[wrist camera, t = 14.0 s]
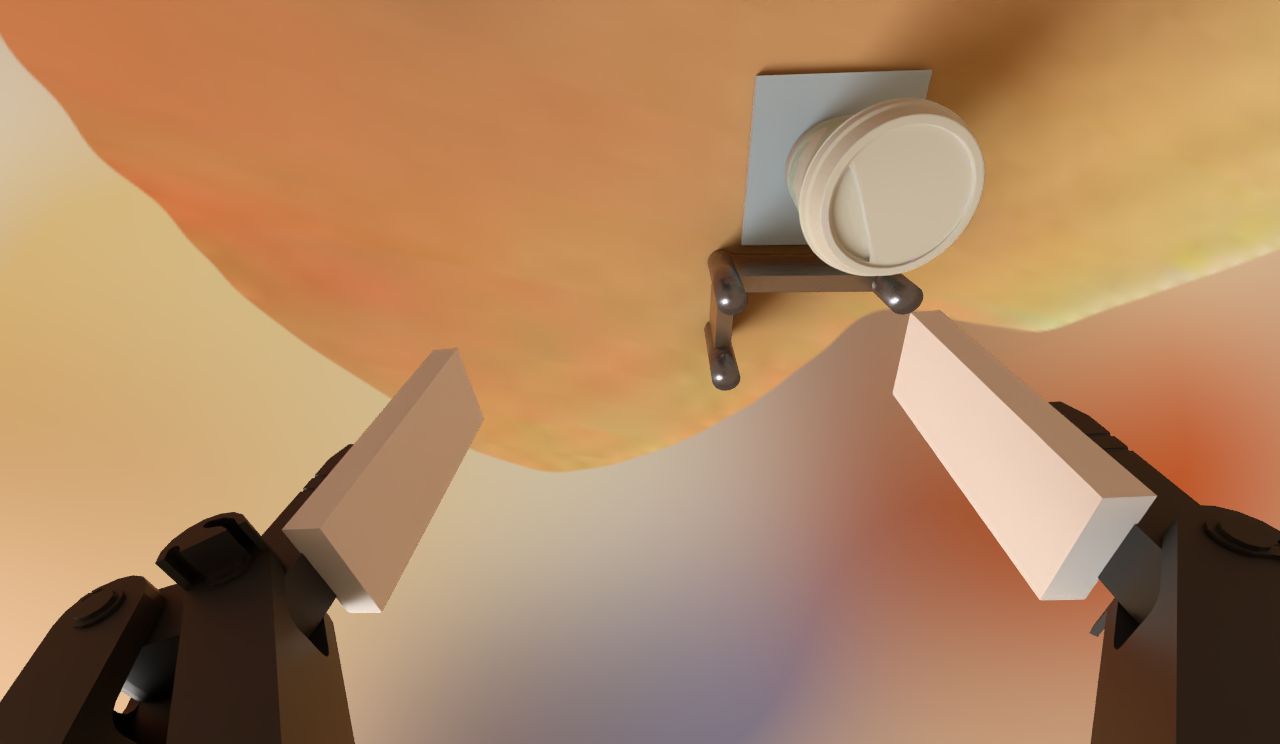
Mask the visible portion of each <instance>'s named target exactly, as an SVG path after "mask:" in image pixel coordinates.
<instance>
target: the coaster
mask: <svg viewBox="0 0 1280 744" xmlns="http://www.w3.org/2000/svg"><path fill="white" fill-rule="evenodd" d="M932 72H933V70H906V71H877V72H849V73H820V74H792V75H763V76H755V85H754V96H753V108H752V119H751V131H750V143H749V154H748V166H747V178H746V189H745V201H744V213H743V224H742V236H741V244H742V245H805V244H808V243H807V241H806V239H805V237H804V235H803V232H802V229H801V225H800V219H799V212H798V210H797V207H796V205H795V203H794V201H793V199H792V197H791V195H790V193H789V190H788V188H787V185H786V181H785V165H786V160H787V157H788V154H789V152H790V150H791V148H792V146H793V145H794V143H795V142H796V140H797V139H798V138H799V137H800V136H801V135H802V134H803V133H804V132H805V131H806V130H807V129H809V128H810V127H812V126H813V125H815V124H817V123H820V122H822V121H826V120H830V119H834V118H838V117H842V116H847V115H851V114H856V113H858V112H860V111H862V110H864V109H866V108H868V107H870V106H872V105H875V104H877V103H880V102H883V101H887V100H891V99H897V98H922V99H926V95H927V91H928V87H929V83H930V79H931V76H932Z"/></svg>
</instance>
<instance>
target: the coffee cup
mask: <svg viewBox="0 0 1280 744" xmlns="http://www.w3.org/2000/svg"><path fill="white" fill-rule="evenodd" d="M984 179H985V166H984V159H983V155H982V152H981V148H980V146H979V144H978V142H977V140H976V139H975V137H974V135H973V133H972V131H971V129H970V128H969V126H968V125H967V124H966V122H965V121H964V120H963V119H962V118H961V117H960V116H959V115H957V114H956V113H955V112H953V111H952V110H950V109H948V108H946V107H945V106H943V105H941V104H939V103H937V102H934V101H931V100H927V99H922V98H897V99H891V100H887V101H883V102H880V103H877V104H875V105H872V106H870V107H868V108H866V109H864V110H862V111H860V112H858V113H856V114H851V115H847V116H842V117H838V118H834V119H830V120H826V121H822V122H820V123H817V124H815V125H813V126H812V127H810V128H809V129H807V130H806V131H805V132H804V133H803V134H802V135H801V136H800V137H799V138H798V139H797V140H796V142H795V143H794V145H793V146H792V148H791V150H790V152H789V154H788V157H787V160H786V165H785V181H786V185H787V188H788V190H789V193H790V195H791V197H792V199H793V201H794V203H795V205H796V207H797V210H798V212H799V219H800V225H801V229H802V232H803V235H804V237H805V239H806V241H807V243H808V245H809V246H810V248H811V249H812V251H813V252H814V253H815V254H816V255H817V256H818V257H819V258H820V259H821V260H822V261H824V262H825V263H827V264H828V265H830V266H832V267H834V268H836V269H838V270H841V271H843V272H846V273H849V274H853V275H860V276H887V275H894V274H900V273H903V272H907V271H910V270H913V269H915V268H917V267H920V266H922V265H924V264H925V263H927V262H929V261H931V260H932V259H934V258H935V257H937V256H938V255H940V254H941V253H942V252H943V251H945V250H946V249H947V248H948V247H949V246H950V245H951V244H952V243H953V242H954V241H955V240H956V239H957V238H958V237H959V236H960V235H961V233H962V232H963V231H964V229H965V228H966V227H967V225H968V224H969V222H970V220H971V219H972V217H973V215H974V213H975V211H976V209H977V207H978V204H979V202H980V199H981V195H982V192H983V187H984Z"/></svg>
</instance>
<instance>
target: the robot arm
mask: <svg viewBox="0 0 1280 744" xmlns="http://www.w3.org/2000/svg"><path fill="white" fill-rule="evenodd" d="M893 395H894V396H895V398H896V399H897V401H898V402H899V403H900V405H901V406H902V407H903V409H904V410H905V412H906V413H907V415H908V416H909V417H910V419H911V420H912V422H913V423H914V424H915V426H916V427H917V429H918V430H919V431H920V433H921V434H922V436H923V437H924V438H925V440H926V441H927V443H928V444H929V445H930V447H931V448H932V450H933V451H934V452H935V454H936V455H937V457H938V458H939V459H940V461H941V462H942V464H943V465H944V466H945V468H946V469H947V470H948V472H949V473H950V475H951V476H952V477H953V479H954V480H955V482H956V483H957V485H958V486H959V487H960V489H961V490H962V492H963V493H964V494H965V496H966V497H967V498H968V500H969V501H970V503H971V504H972V506H973V507H974V508H975V510H976V511H977V512H978V514H979V515H980V517H981V518H982V520H983V521H984V522H985V524H986V525H987V527H988V528H989V529H990V531H991V532H992V534H993V535H994V536H995V538H996V539H997V541H998V542H999V543H1000V545H1001V546H1002V548H1003V549H1004V550H1005V552H1006V553H1007V555H1008V556H1009V557H1010V559H1011V560H1012V562H1013V563H1014V564H1015V566H1016V567H1017V568H1018V570H1019V571H1020V573H1021V574H1022V576H1023V577H1024V579H1025V580H1026V581H1027V583H1028V584H1029V586H1030V587H1031V588H1032V590H1033V591H1034V593H1035V594H1036V595H1037V597H1038V598H1039V599H1040V600H1077V599H1085V598H1086V597H1087V595H1088V594H1089V593H1090V591H1091V590H1092V588H1093V587H1094V585H1095V584H1096V583H1097V581H1098V580H1101V582H1102V583H1103V584H1104V585H1105V587H1106V588H1107V589H1108V590H1109V591H1110V592H1111V593H1112V595H1113V596H1114V597H1115V598H1114V599H1113V601H1112V602H1111V603H1110V605H1109V606H1108V607H1107V609H1106V610H1105V611H1104V613H1103V614H1102V615H1101V616H1100V618H1099V619H1098V620H1097V622H1096V623H1095V624H1094V626H1093V628H1092V630H1091V631H1090V633H1091V634H1093V635H1095V636H1099V634H1100V633H1101V632H1102V631H1103V629H1105V632H1104V639H1103V648H1102V656H1101V664H1100V672H1099V680H1098V689H1097V697H1096V706H1095V713H1094V721H1093V729H1092V738H1091V744H1280V531H1279V530H1277V529H1275V528H1273V527H1272V526H1270V525H1268V524H1266V523H1264V522H1263V521H1260V520H1258V519H1255V518H1253V517H1250V516H1248V515H1245V514H1243V513H1240V512H1237V511H1233V510H1229V509H1225V508H1221V507H1216V506H1203V505H1202V506H1201V505H1200V504H1198V503H1197V502H1196V501H1195V500H1193V499H1192V498H1191V497H1189V496H1188V495H1187V494H1186V493H1184V492H1183V491H1182V490H1181V489H1180V488H1178V487H1177V486H1176V485H1175V484H1173V483H1172V482H1171V481H1170V480H1168V479H1167V478H1166V477H1165V476H1163V475H1162V474H1161V473H1160V472H1158V471H1157V470H1156V469H1155V468H1153V467H1152V466H1151V465H1150V464H1148V463H1147V462H1146V461H1145V460H1143V459H1142V458H1141V457H1140V456H1139V455H1137V454H1136V453H1135V452H1133V451H1129V450H1128V447H1127V446H1126V445H1125V444H1124V443H1122V442H1121V441H1120V440H1119V439H1117V438H1116V437H1114V436H1110V433H1109V431H1107V430H1106V429H1105V428H1104V427H1102V426H1101V425H1100V424H1098V423H1097V422H1096V421H1095V420H1094V419H1092V418H1091V417H1090V416H1088V415H1087V414H1084V413H1082V412H1080V411H1078V410H1076V409H1074V408H1072V407H1070V406H1068V405H1066V404H1064V403H1062V402H1047V401H1046V400H1044V399H1043V398H1042V397H1041V396H1040V395H1039V394H1037V393H1036V392H1035V391H1034V390H1033V389H1032V388H1030V387H1029V386H1028V385H1027V384H1026V383H1025V382H1023V381H1022V380H1021V379H1020V378H1019V377H1017V376H1016V375H1015V374H1014V373H1013V372H1012V371H1011V370H1009V369H1008V368H1007V367H1006V366H1005V365H1003V364H1002V363H1001V362H1000V361H999V360H997V359H996V358H995V357H994V356H993V355H992V354H990V353H989V352H988V351H987V350H986V349H985V348H984V347H982V346H981V345H980V344H979V343H978V342H977V341H975V340H974V339H973V338H972V337H970V335H968V334H967V333H966V332H965V331H964V330H963V329H961V328H960V327H959V326H958V325H957V324H955V323H954V322H953V321H952V320H951V319H950V318H948V317H947V316H946V315H945V314H944V313H943V312H941V311H940V310H937V311H924V312H912V313H911V314H910V318H909V322H908V327H907V331H906V336H905V340H904V345H903V349H902V354H901V359H900V363H899V368H898V372H897V377H896V381H895V385H894V390H893ZM483 420H484V418H483V415H482V412H481V410H480V407H479V404H478V402H477V399H476V396H475V394H474V391H473V388H472V386H471V383H470V380H469V378H468V375H467V372H466V370H465V367H464V364H463V362H462V359H461V356H460V354H459V351H458V348H454V349H441V350H433V351H432V353H431V354H430V355H429V356H428V357H427V359H426V360H425V361H424V362H423V363H422V364H421V366H420V367H419V368H418V369H417V370H416V372H415V373H414V374H413V375H412V376H411V377H410V379H409V380H408V381H407V382H406V383H405V385H404V386H403V387H402V388H401V389H400V390H399V392H398V393H397V394H396V395H395V396H394V398H393V399H392V400H391V401H390V402H389V404H388V405H387V406H386V407H385V408H384V409H383V411H382V412H381V413H380V414H379V416H378V417H377V418H376V419H375V420H374V421H373V422H372V424H371V425H370V426H369V427H368V428H367V429H366V431H365V432H364V433H363V434H362V435H361V437H360V438H359V439H358V440H357V442H355V444H349V445H347V446H346V447H345V448H344V449H342V450H341V451H339V452H338V453H337V454H335V455H334V456H332V457H331V458H330V459H329V460H328V461H327V462H326V463H325V464H324V465H323V467H322V468H321V469H320V470H319V471H318V472H317V473H316V474H315V478H312V479H311V480H310V481H309V482H308V484H307V485H306V486H305V487H304V488H303V489H304V490H303V492H300V493H299V494H298V495H297V496H296V497H295V498H294V500H293V501H292V502H291V503H290V504H289V505H288V506H287V508H286V509H285V510H284V511H283V512H282V513H281V514H280V515H279V517H278V518H277V519H276V520H275V521H274V522H273V523H272V525H271V526H270V527H269V528H268V529H267V530H266V532H265V533H264V534H263V535H262V536H260V534H259V533H258V532H257V531H256V530H255V529H254V527H253V526H252V525H251V524H250V523H249V522H248V520H247V519H246V518H245V517H244V516H243V515H242V514H239V513H235V512H231V513H223V514H219V515H216V516H213V517H211V518H207V519H205V520H203V521H201V522H199V523H197V524H195V525H194V526H192V527H190V528H188V529H187V530H185V531H184V532H182V533H181V534H180V535H178V536H177V537H176V538H174V539H173V540H172V541H171V542H170V543H169V544H168V545H167V546H166V547H165V548H164V549H163V550H162V552H161V553H160V555H159V557H158V559H157V561H156V563H155V564H156V565H158V566H159V567H160V568H161V569H162V570H163V571H164V572H165V573H167V575H168V576H170V577H171V578H172V579H173V580H174V581H175V582H176V583H177V584H175V585H171V586H168V587H165V588H161V589H157V588H155V587H154V586H153V585H152V584H151V583H150V582H148V581H147V580H146V579H145V578H144V577H142V576H129V577H124V578H121V579H117V580H115V581H112V582H110V583H108V584H106V585H103V586H101V587H99V588H97V589H95V590H93V591H92V593H88V594H87V595H85V596H84V597H82V598H81V599H80V600H79V601H78V602H77V603H75V604H74V605H73V606H72V607H70V608H69V609H68V610H67V611H66V612H65V613H64V614H63V615H62V616H61V617H60V618H59V619H58V621H57V622H56V623H55V624H54V625H53V626H52V628H51V629H50V631H49V632H48V634H47V635H46V637H45V638H44V639H43V641H42V642H41V644H40V645H39V647H38V648H37V650H36V651H35V652H34V654H33V655H32V657H31V658H30V660H29V661H28V663H27V664H26V666H25V667H24V668H23V670H22V671H21V673H20V674H19V676H18V677H17V679H16V680H15V681H14V683H13V685H12V686H11V687H10V689H9V690H8V692H7V693H6V695H5V696H4V698H3V699H2V700H1V702H0V744H355V742H354V737H353V731H352V726H351V720H350V715H349V709H348V703H347V698H346V692H345V686H344V681H343V675H342V670H341V664H340V659H339V653H338V648H337V642H336V636H335V631H334V625H333V622H332V620H331V618H330V617H329V615H328V614H327V613H326V612H327V610H328V609H329V607H330V606H331V604H332V603H333V601H334V600H335V598H337V599H338V600H339V602H340V603H341V604H342V605H343V606H344V608H345V609H346V610H347V611H348V613H372V612H373V613H376V612H377V613H379V612H382V611H383V609H384V607H385V606H386V604H387V602H388V600H389V598H390V596H391V594H392V592H393V590H394V588H395V587H396V585H397V583H398V581H399V579H400V577H401V575H402V573H403V572H404V569H405V568H406V566H407V564H408V562H409V560H410V558H411V556H412V554H413V553H414V551H415V549H416V547H417V545H418V543H419V541H420V539H421V537H422V536H423V534H424V532H425V530H426V528H427V526H428V524H429V522H430V520H431V518H432V517H433V515H434V513H435V511H436V509H437V507H438V505H439V503H440V502H441V499H442V498H443V495H444V494H445V492H446V490H447V488H448V486H449V485H450V483H451V481H452V479H453V477H454V475H455V473H456V471H457V469H458V467H459V465H460V464H461V462H462V460H463V458H464V456H465V454H466V452H467V450H468V449H469V447H470V445H471V443H472V441H473V439H474V437H475V435H476V433H477V432H478V430H479V428H480V426H481V424H482V422H483ZM121 691H122V692H124V693H125V694H127V695H128V696H130V697H131V699H130V701H129V703H128V705H127V707H126V709H125V710H124V711H123V713H122V714H121V713H117V712H116V711H114V706H115V702H116V700H117V697H118V695H119V694H120V692H121Z"/></svg>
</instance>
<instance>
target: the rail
mask: <svg viewBox="0 0 1280 744" xmlns="http://www.w3.org/2000/svg"><path fill="white" fill-rule="evenodd" d="M708 267H709V272H710V276H711V280H712V286H711V304H710V321H709V322H708V323H707V324H706V326H705V329H704V331H705V338H706V344H707V351H708V357H709V363H710V370H711V376H712V382H713V385H714V386H715V387H716V388H718V389H720V390H731V389H733V388H735V387H736V386H737V385H738V384H739V381H740V374H739V370H738V366H737V362H736V359H735V355H734V351H733V347H732V343H731V336H732V324H733V315H736V314H739V313H741V312H742V311H743V310H744V309H745V308H746V306H747V303H748V296H747V294H746V293H748V292H870V291H873V292H874V293H875V294H876V295H877V296H878V297H879V298H880V299H881V300H882V301H883V302H884V303H885V304H886V305H887V306H888V307H889V308H890V309H891V310H892V311H893V312H895V313H897V314H908V313H911V312H913V311H914V310H915V309H917V308H918V307H919V306H920V304H921V302H922V300H923V292H922V290H921V289H920V288H919V287H918V286H916V285H915V284H914V283H913V282H911V281H910V280H909V279H907V278H906V277H905V276H904V275H902V274H901V273H900V274H894V275H887V276H860V275H853V274H849V273H846V272H843V271H841V270H838V269H836V268H834V267H832V266H830V265H828V264H827V263H825V262H824V261H822V260H821V259H820V258H819V257H818V256H817V255H816V254H742V255H731V254H730V253H729V252H728V251H725V250H717V251H715V252H713V253H712V254H711V255H710V257H709V259H708Z"/></svg>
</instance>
